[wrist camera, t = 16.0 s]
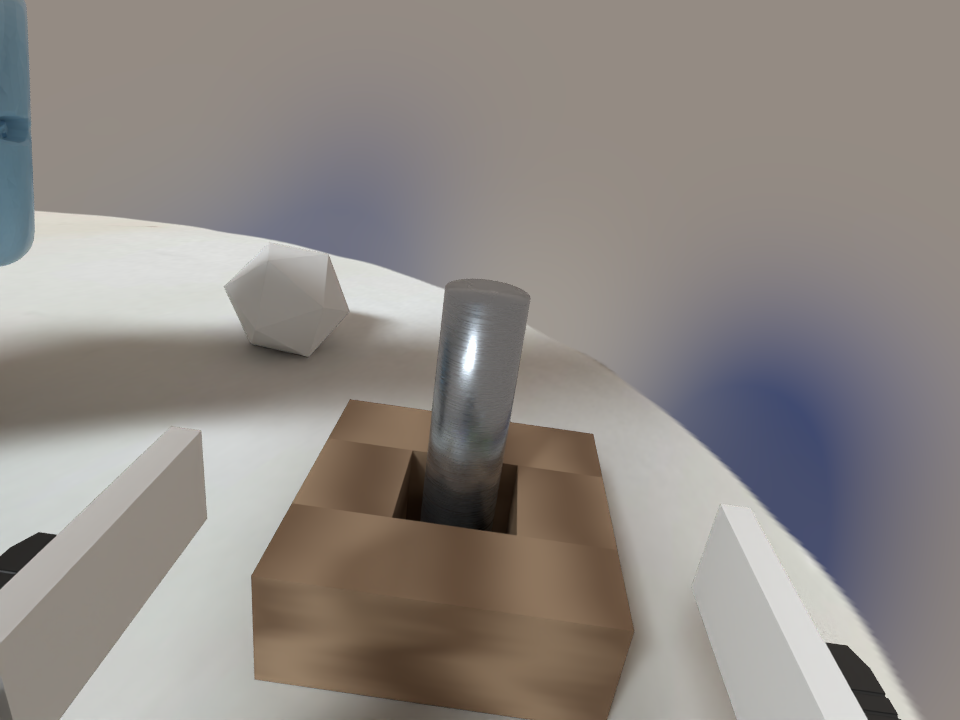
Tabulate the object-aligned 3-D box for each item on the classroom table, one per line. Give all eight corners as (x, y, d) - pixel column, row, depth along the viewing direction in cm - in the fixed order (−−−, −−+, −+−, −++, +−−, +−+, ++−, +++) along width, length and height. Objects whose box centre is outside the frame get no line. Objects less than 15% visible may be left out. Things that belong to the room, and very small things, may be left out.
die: (362, 345, 53) (326, 241, 54) (354, 333, 45) (311, 209, 45) (269, 377, 52) (233, 270, 52) (242, 370, 43) (199, 243, 44)
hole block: (254, 679, 23) (251, 575, 21) (346, 477, 35) (350, 399, 33) (603, 730, 23) (634, 631, 21) (575, 510, 35) (593, 433, 33)
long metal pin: (402, 566, 29) (429, 281, 23) (460, 547, 31) (499, 277, 25) (434, 614, 27) (474, 310, 21) (495, 591, 28) (547, 303, 23)
